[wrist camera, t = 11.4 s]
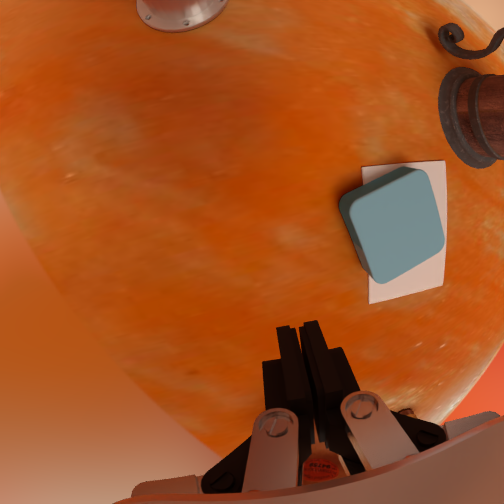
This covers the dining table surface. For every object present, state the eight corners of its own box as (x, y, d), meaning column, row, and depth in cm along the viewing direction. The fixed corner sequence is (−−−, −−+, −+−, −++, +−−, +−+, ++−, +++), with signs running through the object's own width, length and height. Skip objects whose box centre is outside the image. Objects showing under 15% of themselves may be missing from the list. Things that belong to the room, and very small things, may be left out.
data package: (365, 275, 40) (430, 238, 38) (377, 289, 36) (447, 247, 34) (334, 198, 36) (408, 162, 35) (345, 205, 32) (425, 165, 30)
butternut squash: (341, 384, 47) (381, 503, 24) (347, 423, 52) (376, 522, 28) (267, 404, 49) (276, 528, 25) (283, 440, 53) (294, 542, 29)
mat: (361, 167, 35) (362, 167, 35) (443, 160, 35) (445, 160, 34) (368, 302, 42) (369, 304, 41) (441, 284, 41) (442, 284, 41)
